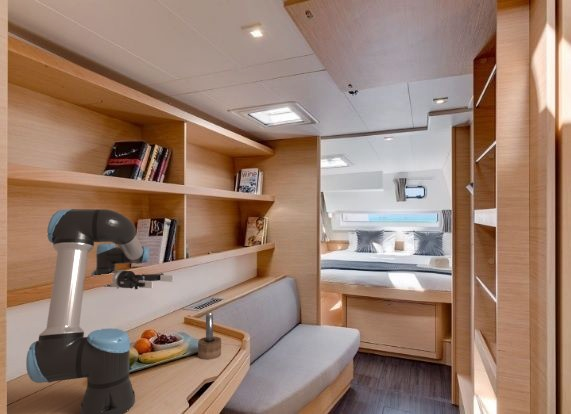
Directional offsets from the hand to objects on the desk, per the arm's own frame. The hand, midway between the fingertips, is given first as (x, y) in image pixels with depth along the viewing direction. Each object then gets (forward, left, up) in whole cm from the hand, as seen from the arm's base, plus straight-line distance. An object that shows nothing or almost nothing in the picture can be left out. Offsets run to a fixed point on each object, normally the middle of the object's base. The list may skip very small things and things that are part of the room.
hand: (163, 281), depth 138 cm
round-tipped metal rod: (+8, -18, -32) cm, 37 cm away
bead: (+8, -18, -32) cm, 37 cm away
